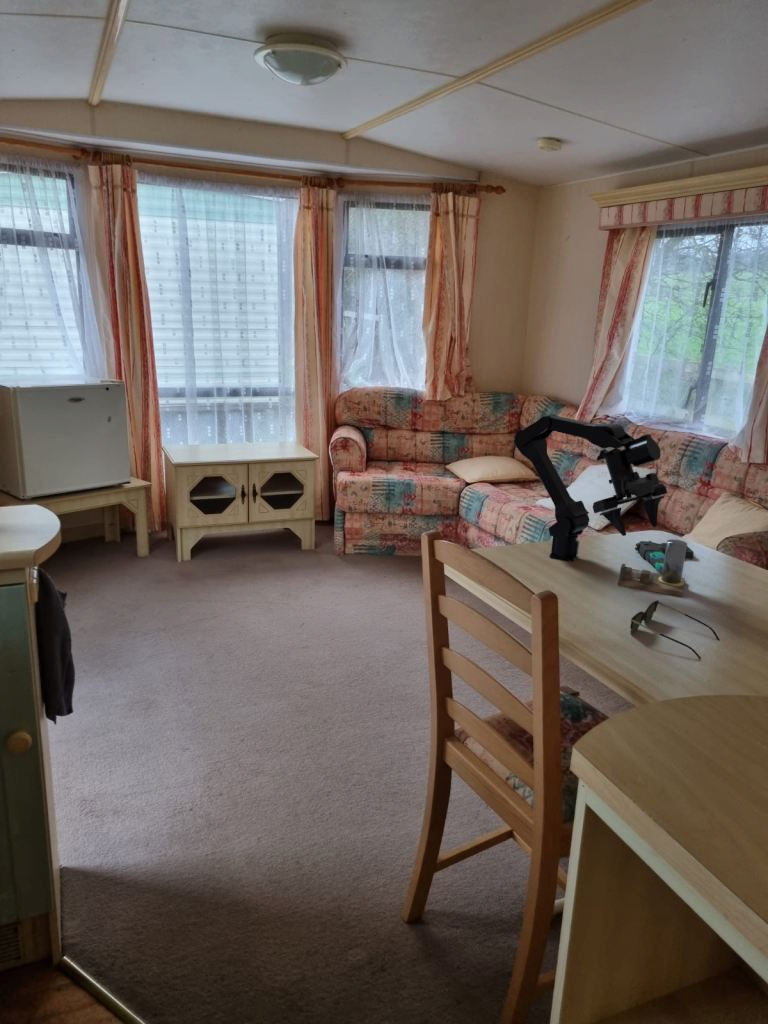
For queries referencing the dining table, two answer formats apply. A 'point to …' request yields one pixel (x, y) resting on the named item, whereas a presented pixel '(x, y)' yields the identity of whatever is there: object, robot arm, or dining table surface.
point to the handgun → (657, 553)
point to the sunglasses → (648, 615)
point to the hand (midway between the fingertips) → (639, 531)
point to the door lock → (648, 581)
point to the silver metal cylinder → (674, 561)
